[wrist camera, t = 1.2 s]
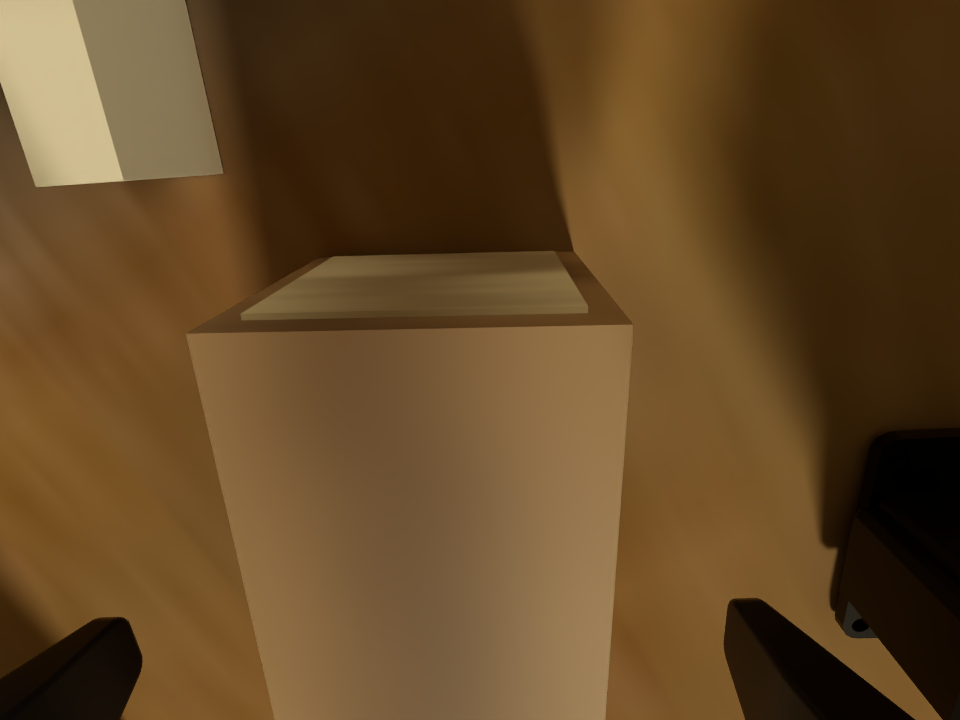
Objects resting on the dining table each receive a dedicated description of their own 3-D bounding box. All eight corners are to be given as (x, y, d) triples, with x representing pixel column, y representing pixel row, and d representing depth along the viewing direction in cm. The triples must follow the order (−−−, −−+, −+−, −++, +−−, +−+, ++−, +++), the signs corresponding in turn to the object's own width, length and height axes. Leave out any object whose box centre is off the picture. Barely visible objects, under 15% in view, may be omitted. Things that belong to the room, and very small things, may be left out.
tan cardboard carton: (573, 246, 13) (634, 317, 7) (563, 559, 16) (600, 780, 10) (319, 252, 13) (184, 326, 7) (360, 560, 16) (287, 777, 10)
